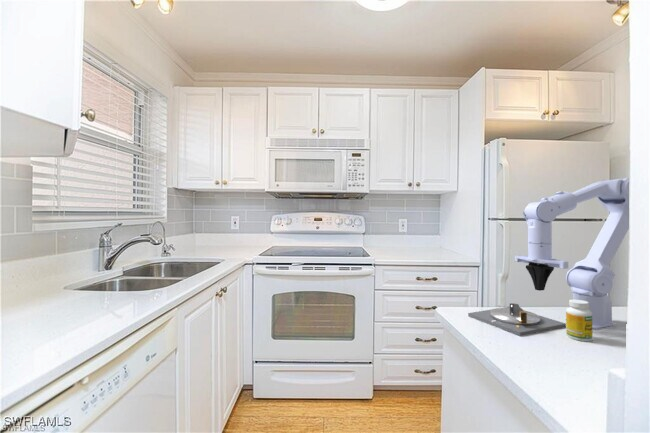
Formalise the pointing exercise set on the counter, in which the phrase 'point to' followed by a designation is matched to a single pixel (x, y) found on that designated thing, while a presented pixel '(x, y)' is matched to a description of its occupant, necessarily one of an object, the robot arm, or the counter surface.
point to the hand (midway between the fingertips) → (539, 289)
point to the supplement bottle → (579, 320)
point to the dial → (515, 315)
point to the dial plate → (518, 329)
